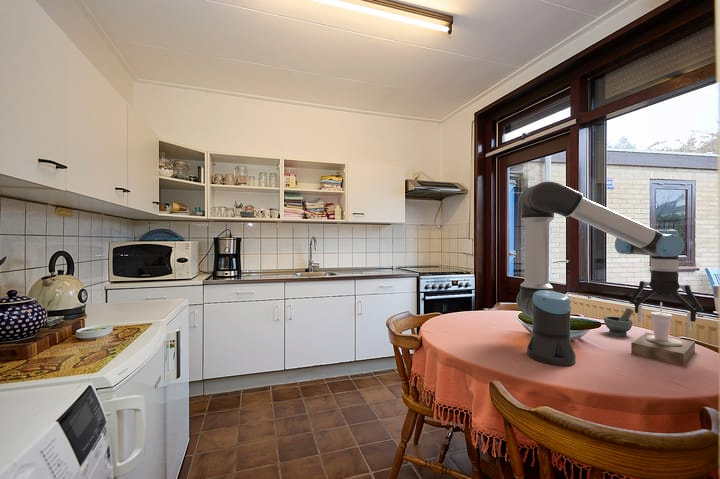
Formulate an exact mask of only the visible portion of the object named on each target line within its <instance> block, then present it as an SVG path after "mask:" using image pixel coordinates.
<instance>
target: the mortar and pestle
mask: <svg viewBox="0 0 720 479" xmlns="http://www.w3.org/2000/svg"><path fill="white" fill-rule="evenodd" d="M634 312H635V310H633V309H632V308H629V307H626V308H625V311H624V312H623V314H622V315H621V316H620V317H619V316H604V317H603V321H604V322H603V323H604V324H605V326H606V328H607V329H608V330H609V331H608V333H609V334H610V335H612V336H617V337H627V336H628V333H627V332H629V331H630V330H631V329H632V326H633V320H631V319H630V318H631V316H632V314H633V313H634Z"/></svg>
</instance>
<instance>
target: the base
mask: <svg viewBox="0 0 720 479" xmlns="http://www.w3.org/2000/svg"><path fill="white" fill-rule="evenodd" d="M695 345H696V341H694V340H689V339H684V338H678V337H674V336H673V337H672V336H668V340H667V341H664V340H658V339H655V338H654V333H652V332H645V333H644V334H642V335H640V336H639V337H637V338H636V339H635V340H633V341H632V342H631V348H630V350H631V352H630V353H631V354H634V355H637V356H638V355H639V356H642V357H646V358H650V359H654V360H659V361H664V362H668V363H670V364H671V363H672V364H676V365H681V366H685V365H686V363H687V362H688V361H689V360H690V358H692V356H693V355H694V353H695V352H696V346H695Z"/></svg>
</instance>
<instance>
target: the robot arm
mask: <svg viewBox="0 0 720 479" xmlns="http://www.w3.org/2000/svg"><path fill="white" fill-rule="evenodd" d="M517 206H518V209H519V210H520V212H521V215H520V217H521V219H520V220H522V221H523V222H524V223H525V225H524V281H523V282H521V283H520V287H519V292H518V294H517V296H516V305H517V308H518V309H519V311H520V312H521V313H522V314H523V315H525V316H526V317H528V318H530V319H531V320H532V333H531V336H530V339H529V342H528V345H527V347H526V355H527V356H528V357H529V358H531V359H533V360H535V361H537V362H540V363H544V364H546V365H547V364H549V365H553V366H561V367H563V366H564V367H565V366H566V367H567V366H573V365H575V364H576V363H577V360H576V359H577V355H576V353H575V349H574V347H573V344H572V341H571V310H572V305H571V299H570V297H569V296H568V295H567V294H564V293H562V292H557V291H554V286H553V285H552V284H551V283H550V282H549V281H550V276H549V275H550V272H549V271H550V270H549V269H550V227H551V225H550V223H551V222H552V221H553V220H554V219H555V214H556V215H560V216H562V217H565V218H569V217H571V218H574V219H576V220H578V221H580V222H581V223H582V222H583V223H584V224H587V225H589V226H591V227H593V228H595V229H598V230H600V231H602V232H604V233H606V234H608V235H609V236H613V237H615V240H614V248H615V251H616V252H617V254H621V255H627V256H629V255H640V256H651V257H650V269H652V270H651V271H650V280H649V281H645V280H641V281H639V286H638V288H637V289H636V290H635V291H634V293H633V294H632V296H631V297H630V298H629V300H628V302H629V303H630V304H633V305H634V312H635V314H637V322H638V323H642V322H643V310H644V309H643V304H642V303H643V302H645V301H646V300H647V299H649V298H650V297H651V296H653V295H654V294H657V295H665V296H673V297H674V298H675V299H676V300H678V302H680V303H681V304H682V305H683V307H685V308H686V309H687V310H688V311H687V312H686V320H687V321H686V330H687V331H688V332H691V331H692V323H695V322H696V321H697V318H696V317H697V313H702V312H703V311H704V308H703V306H702V305H701V303H700V302H699V301H698V299H697V298H696V296H695V294H694V293H693V291H692V288H691V285H690V284H680V283H679V272H678V270H679V255H681V254H682V252H683V251H684V249H685V241H684V240H683V238H682V237H681V236H680V235H679V232H678V230H676V229H654V228H651V227H650V226H647V225H645V224H643V223H640V222H638V221H636V220H634V219H631V218H629V217H627V216H625V215H622V214H621V213H618V212H615V211H614V210H612V209H610V208H607V207H605V206H603V205H601V204H599V203H596V202H594V201H592V200H590V199H588V198H585V197H584V194H583V193H582V192H579V190H575V189H573V188H571V187H569V186H566V185H563V184H561V183H559V182H555V181H543V182H540V183H537V184H534V185H532V186H529V187H527V188H526V189H524V190H523V191H522V192H521V193H520V195H519V197H518V200H517ZM647 286H649V287H650V288H651V290H649V291H648V292H647V293H645V295H643V296H642V297H640V298H639V299H638V300H637V298H638V297H639V296H640V295H641V293H642V292H643V290H644V289H645V288H647ZM679 289H681V290H682V291H683V292H685V294H686V295H687V297H688V299H689V300H690V302H691V303H692V304H693V306H692V305H691V304H690V303H689V302H688V301H687V300H686V299H685V298H684V297H683V296H682V295H681V294H680V292H678V290H679ZM641 304H642V305H641Z"/></svg>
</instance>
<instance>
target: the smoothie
mask: <svg viewBox="0 0 720 479" xmlns="http://www.w3.org/2000/svg"><path fill="white" fill-rule="evenodd" d="M649 315H650V316H651V317H650V318H651V322H652V324H651V325H652V329H653V330H652V331H653V334H654V338H655V339H658V340H664V341H667V340H668V337H670V331H671V330H670V329H671V325H672V319H673V318H674V315H673V314H671V313H668V312H667V313H666V312H663V302H662V301H661V302H659V311H651V312H650V313H649Z"/></svg>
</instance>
